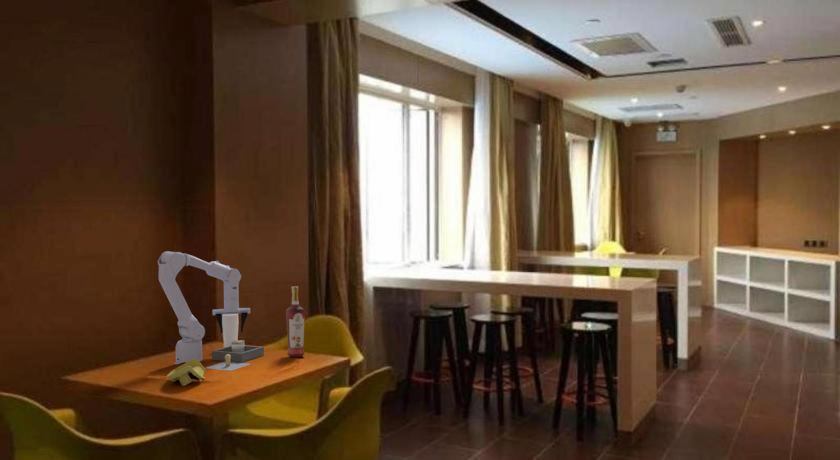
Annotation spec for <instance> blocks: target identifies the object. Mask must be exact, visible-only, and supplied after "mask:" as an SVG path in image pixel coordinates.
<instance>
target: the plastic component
mask: <svg viewBox="0 0 840 460" xmlns="http://www.w3.org/2000/svg"><path fill="white" fill-rule="evenodd" d="M205 372H207V370H206V367H204V366H203V364H202V363H201V361H199V360H198V359H193V360H191V361H189V362H187V363H186V362H184V364H181V365H179V366H178V367H175V368H174V369H173V370H170V372H169V373H168V374H167V375H166V378H167V379H168V380H170V381H171V382H173V383H174V382H176V381H177V382H178V381H179V382H180V384H181V386H182V387H184V386H186V385H188V384H190V383H192V382H193V381H192V379H191V377H190V375H191V374H192V375H193V376H195V377H196V378H198V379H199V380H201V381H203V380H204V379H206V376H204V373H205Z"/></svg>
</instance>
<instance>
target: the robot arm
mask: <svg viewBox="0 0 840 460" xmlns="http://www.w3.org/2000/svg"><path fill="white" fill-rule="evenodd" d="M157 265H158V282H159V283H160V286H161V289H162V290H163V292H164V293H165V296H166V298H167V299H168V301H169V303H170V306H171V308H172V309H173V311H174V313H175V316H176V317H177V320H178V321H177V326H178V332H179V335H180V337H182V338H181V339H180V340H178V341H177V342H176V345H175V362H174V363H173V364H174V365H179V364H182V363H187V362H189V361H191V360H193V359H198V360H199V362H201V361H203V338H204V336H205V335H206V329H205V327H204V326H203V325H202V324H201V323H200V322H199V321H198V319H197V318H196V317H195V316H194V315H193V313H192V312H191V309H190V307H189V305H188V303H187V301H186V299H185V297H184V295H183V293H182V291H181V288H180V286H179V285H178V283H177V281H176V278H177V276H178V273H179V272H180V271H181V270H183V268H184V267H188V266H190V267H194V268H198V269H200V270H203V271H205V273H206V275H207V276H209V277H213V278H216V279H219V280H221V281H222V282H223V308H219V309H211V310H212V316H215V319H216V321H217V324H218V325H219V329H220V333H221V334H223V326H222V314H238V315H239V314H240V318H241V319H240V321H241V323H240V332H241V333H243V332H244V331H243V330H244V326H245V323H246V320H247V318H248V314H251V307H240V303H239V302H240V301H239V298H240V297H239V296H240V295H239V288H240V287H239V285H240V281H241V279H242V274H241V273H240V271H239V269H237V268H235V267H234V268H233V267H230V265H229V264H228V265H227V264H226V265H225V264H222V263H220V260H219V261H218V260H215V261H210V262H208V261H206V260H202V259H200V258H198V257H196V256H194V255H191V254H188V253H182V252H181V251H170V250H169V251H168V250H166V251H164V252H162V253H161V255H160V256H159V257H158V260H157Z"/></svg>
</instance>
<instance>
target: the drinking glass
mask: <svg viewBox="0 0 840 460" xmlns="http://www.w3.org/2000/svg"><path fill="white" fill-rule="evenodd" d="M239 323H240V322H239V314H222V326H223V333H222V339H223V348H224V347H228V346H231V345H232V341H233V340H239V339H238V336H239Z"/></svg>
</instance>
